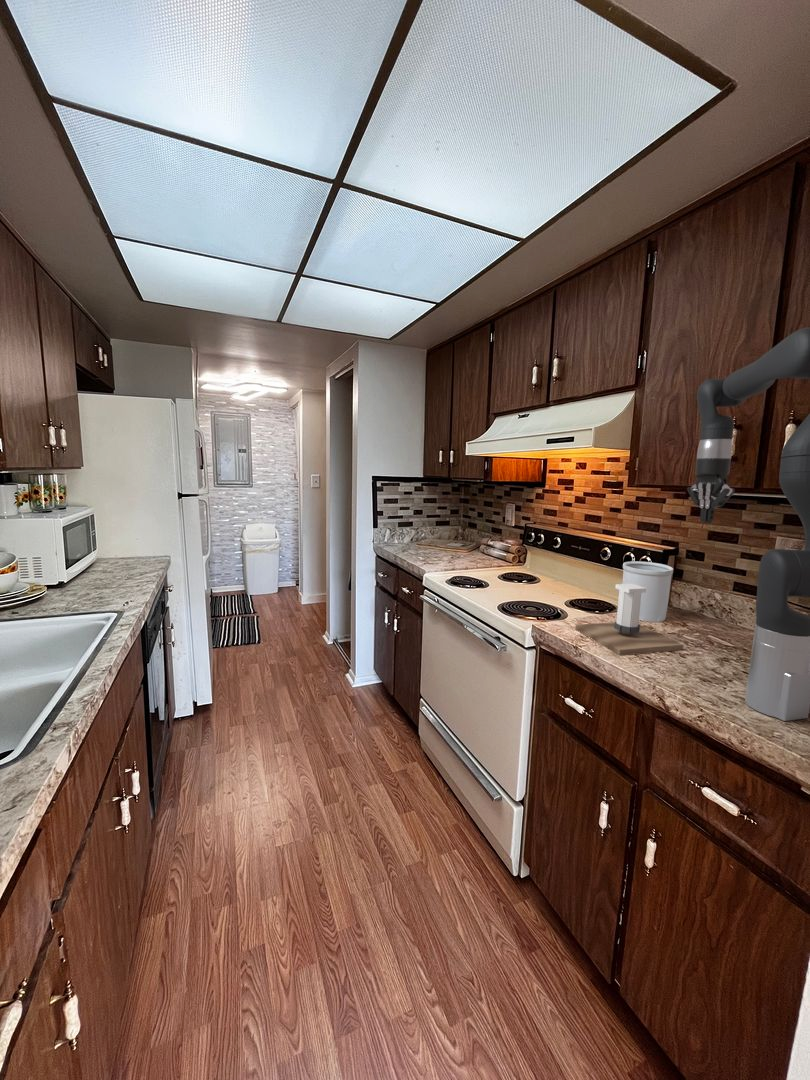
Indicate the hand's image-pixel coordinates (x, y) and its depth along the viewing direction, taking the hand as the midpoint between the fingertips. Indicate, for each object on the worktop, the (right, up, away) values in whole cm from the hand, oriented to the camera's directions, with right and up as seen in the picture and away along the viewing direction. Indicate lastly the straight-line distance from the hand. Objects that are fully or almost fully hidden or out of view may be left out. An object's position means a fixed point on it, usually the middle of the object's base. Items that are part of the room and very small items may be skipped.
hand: (706, 522), depth 121 cm
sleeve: (-17, -29, +9) cm, 35 cm away
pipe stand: (-17, -34, +10) cm, 39 cm away
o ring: (-17, -31, +9) cm, 36 cm away
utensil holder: (0, -31, +32) cm, 44 cm away
